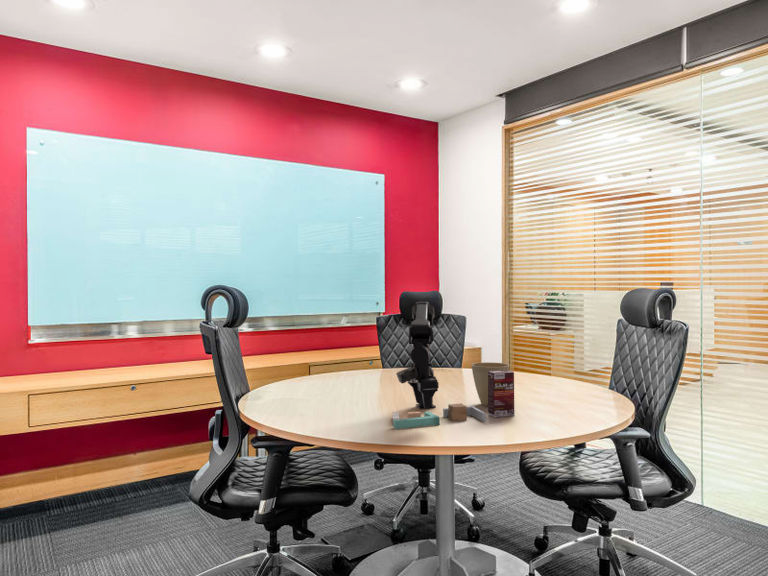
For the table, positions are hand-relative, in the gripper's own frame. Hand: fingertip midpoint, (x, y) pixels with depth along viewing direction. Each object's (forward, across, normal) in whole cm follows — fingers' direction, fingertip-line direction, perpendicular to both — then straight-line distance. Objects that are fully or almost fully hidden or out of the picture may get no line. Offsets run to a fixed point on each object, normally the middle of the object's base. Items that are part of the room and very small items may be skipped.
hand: (422, 405), depth 184 cm
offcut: (+7, -9, 0) cm, 12 cm away
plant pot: (+7, -23, +36) cm, 43 cm away
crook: (+7, -3, -2) cm, 8 cm away
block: (+7, -5, +15) cm, 17 cm away
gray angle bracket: (+7, -4, +17) cm, 19 cm away
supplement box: (+7, -5, +32) cm, 33 cm away
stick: (+7, -8, -7) cm, 13 cm away
